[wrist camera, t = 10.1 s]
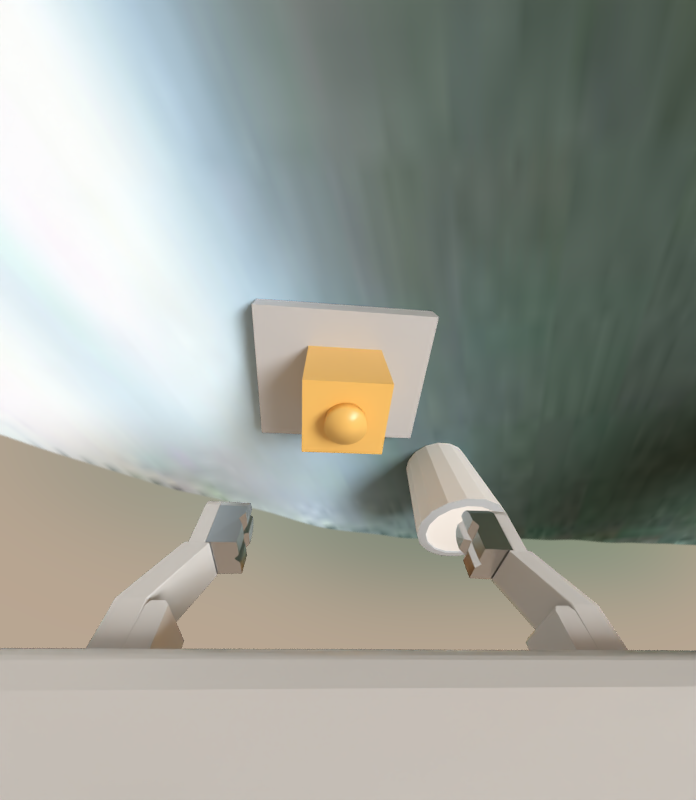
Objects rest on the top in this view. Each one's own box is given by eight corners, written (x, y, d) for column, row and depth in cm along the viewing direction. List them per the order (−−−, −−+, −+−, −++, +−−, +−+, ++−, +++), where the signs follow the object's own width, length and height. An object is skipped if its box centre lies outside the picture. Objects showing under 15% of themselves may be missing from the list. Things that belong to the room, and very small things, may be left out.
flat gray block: (432, 311, 21) (457, 335, 17) (406, 427, 26) (420, 468, 22) (256, 298, 20) (236, 320, 16) (265, 421, 25) (251, 463, 21)
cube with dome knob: (381, 350, 21) (396, 391, 16) (372, 410, 23) (383, 463, 18) (308, 345, 20) (300, 386, 16) (307, 408, 23) (300, 460, 18)
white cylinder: (388, 455, 28) (403, 520, 22) (460, 425, 27) (497, 487, 21) (414, 499, 31) (434, 566, 25) (480, 475, 30) (517, 540, 24)
